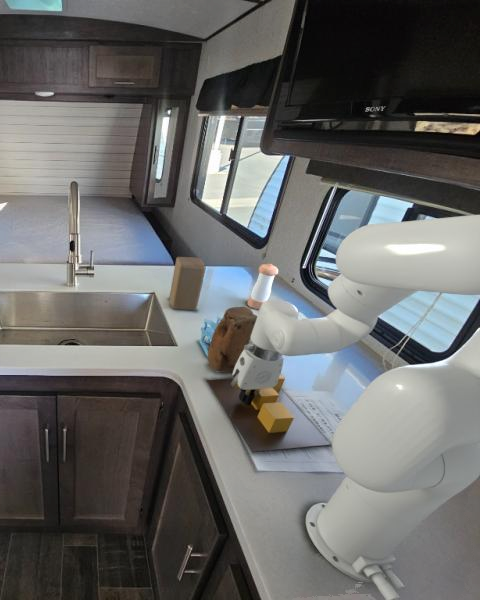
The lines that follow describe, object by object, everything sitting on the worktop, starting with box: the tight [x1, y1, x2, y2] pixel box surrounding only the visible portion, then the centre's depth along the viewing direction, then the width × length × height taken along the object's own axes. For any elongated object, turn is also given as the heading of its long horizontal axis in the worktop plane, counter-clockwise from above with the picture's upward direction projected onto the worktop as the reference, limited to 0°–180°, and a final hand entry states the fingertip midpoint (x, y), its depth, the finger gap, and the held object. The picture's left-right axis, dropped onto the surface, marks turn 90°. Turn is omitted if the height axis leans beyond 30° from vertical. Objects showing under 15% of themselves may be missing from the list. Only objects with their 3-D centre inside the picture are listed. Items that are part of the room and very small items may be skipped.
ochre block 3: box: [258, 402, 294, 433], centre depth 81 cm, size 5×5×5 cm
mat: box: [206, 377, 332, 453], centre depth 87 cm, size 24×20×1 cm
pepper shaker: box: [246, 263, 279, 310], centre depth 132 cm, size 7×7×19 cm
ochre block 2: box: [251, 387, 279, 410], centre depth 87 cm, size 5×5×5 cm
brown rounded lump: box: [207, 306, 258, 373], centre depth 97 cm, size 11×8×20 cm
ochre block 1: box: [273, 373, 286, 392], centre depth 93 cm, size 5×5×5 cm
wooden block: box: [168, 256, 207, 311], centre depth 131 cm, size 10×10×20 cm
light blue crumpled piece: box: [199, 316, 223, 357], centre depth 107 cm, size 8×8×12 cm
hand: (244, 401), depth 87 cm, fingers closed
